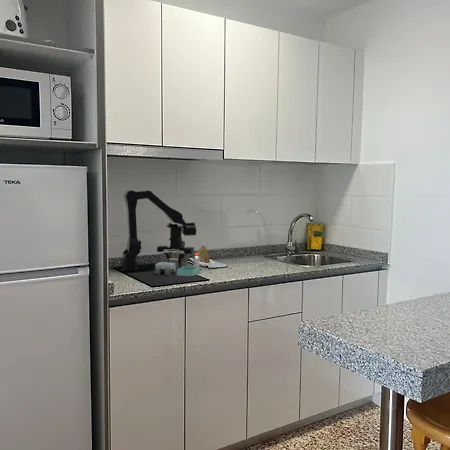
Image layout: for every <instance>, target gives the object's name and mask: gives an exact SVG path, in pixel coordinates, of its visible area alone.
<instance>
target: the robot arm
mask: <svg viewBox="0 0 450 450" xmlns="http://www.w3.org/2000/svg"><path fill="white" fill-rule="evenodd" d="M123 197H124V198H123V199H124V201H125V203H124V204H125V206H126V209H127V213H126V214H127V228H128V238H127V242H126V248H125V250H124V251H123V252H122V253H121V254H122V260H121V261H122V264H121V265H122V269H120V272H131V273H132V272H135V271H138V270H139V268H138V259H137V257H138V255H140V253H141V250H142V249H143V248H142V241H141V240H140V239H138V230H137V229H138V228H137V205H138V200H145V199H147V200H149V202H150V203H151V204H153V205H154V206H155V207H157V208H158V209H159V210H160V211H162V213H163V214H165V216H166V217H167V218H168V219H169V221H170V222H169V223H167V225H166V226H165V227H166V228H169V229H170V230H169V233H170V234H169V237H170V238H169V239H168V241H169V246H168V245H164V244H162V245H159V246H157V247H156V253H162V254H163V255H165V257H166V259H167V261H168V262H169V258H173V257H172V256H173V252H180V253H178V257H179V266H181V264H182V265H183V260H184V258H185V256H186V255H191V254H194V253H195V247H193V246H185V245H186V242H185V241H184V240H183V237H182V234H183V236H185V237H186V236H187V237H188V236H196V235H197V226H196V222H186V221H185V220H184V219H183V217H184V216H183V214H182V213H181V212H179V211H178V210H176V209H174V208H172V207H170V206H169V205H168V204H166V203H165V202H164V201H163V200H162V199H161V198H159V197H158V196H157V195H156V194H154V193H153V191H151V190H149V189H148V190H143V191H142V190H140V191H135V190H129V189H128V190H126V191H125V192H124V193H123Z"/></svg>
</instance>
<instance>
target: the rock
mask: <svg viewBox="0 0 450 450" xmlns="http://www.w3.org/2000/svg"><path fill="white" fill-rule="evenodd" d="M196 253H199V254H200V259H199V261H200V262H205V263H209V262H211V260H210V259H211V258H210V254H209V251H208V249H207V247H206V246H204V245H201V247H200V248H199V249H198V251H197V252H196Z"/></svg>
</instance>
